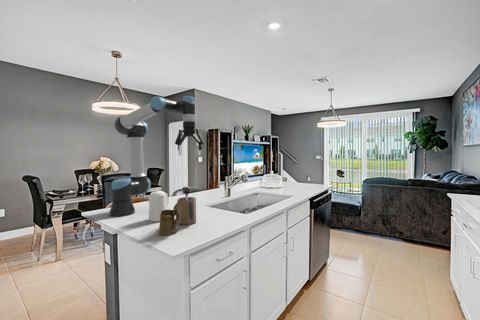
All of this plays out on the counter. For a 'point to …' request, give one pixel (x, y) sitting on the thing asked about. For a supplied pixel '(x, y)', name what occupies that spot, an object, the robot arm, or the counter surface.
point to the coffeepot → (157, 204)
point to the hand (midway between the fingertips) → (189, 155)
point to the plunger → (186, 191)
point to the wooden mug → (169, 220)
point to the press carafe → (187, 211)
